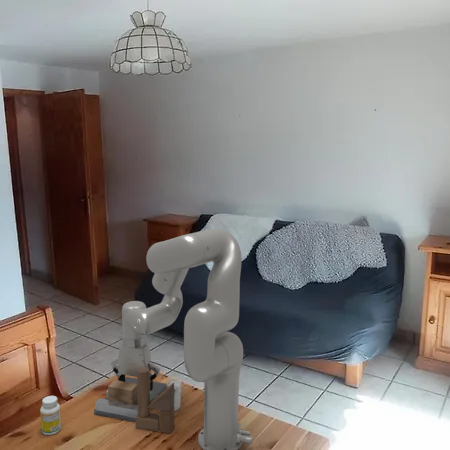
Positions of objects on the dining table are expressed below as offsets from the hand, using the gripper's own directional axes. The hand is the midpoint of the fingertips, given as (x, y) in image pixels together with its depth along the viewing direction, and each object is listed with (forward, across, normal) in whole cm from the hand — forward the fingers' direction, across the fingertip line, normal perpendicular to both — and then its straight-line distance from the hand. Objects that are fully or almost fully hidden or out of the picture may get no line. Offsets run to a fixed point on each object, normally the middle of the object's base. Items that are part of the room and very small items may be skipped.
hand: (135, 389), depth 150 cm
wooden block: (+3, +13, -13) cm, 19 cm away
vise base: (+3, 0, -2) cm, 3 cm away
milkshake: (+3, +15, -2) cm, 15 cm away
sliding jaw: (+1, 0, -4) cm, 4 cm away
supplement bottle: (+3, -15, -23) cm, 28 cm away
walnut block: (+1, 0, -8) cm, 8 cm away
